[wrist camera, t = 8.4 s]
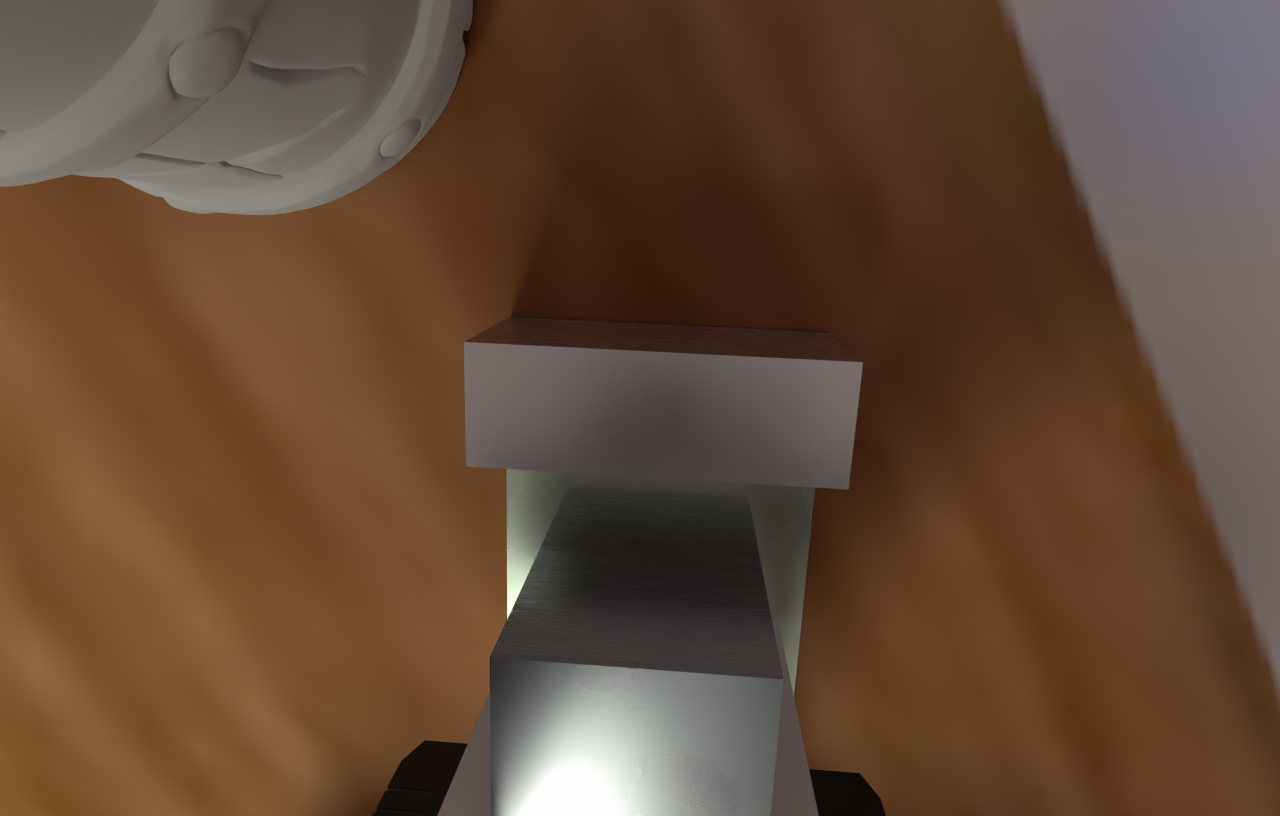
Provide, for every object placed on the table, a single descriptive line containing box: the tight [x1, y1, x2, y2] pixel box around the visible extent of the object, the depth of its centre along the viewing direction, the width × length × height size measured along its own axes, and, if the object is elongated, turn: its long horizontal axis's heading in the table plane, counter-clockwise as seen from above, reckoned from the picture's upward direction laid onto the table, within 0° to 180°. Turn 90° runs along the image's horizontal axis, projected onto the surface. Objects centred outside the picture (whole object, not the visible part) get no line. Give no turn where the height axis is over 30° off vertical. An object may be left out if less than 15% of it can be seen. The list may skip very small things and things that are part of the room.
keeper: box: [464, 317, 863, 695], centre depth 15 cm, size 14×6×3 cm, turn 178°
